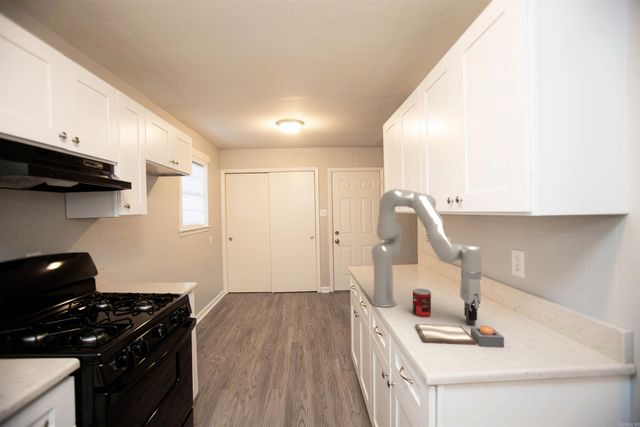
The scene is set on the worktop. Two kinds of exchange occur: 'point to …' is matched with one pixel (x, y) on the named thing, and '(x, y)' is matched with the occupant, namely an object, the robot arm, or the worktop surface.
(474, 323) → the grey tall cylinder
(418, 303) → the canned food
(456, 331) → the board
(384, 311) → the worktop surface
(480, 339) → the button housing
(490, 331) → the button
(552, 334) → the worktop surface
